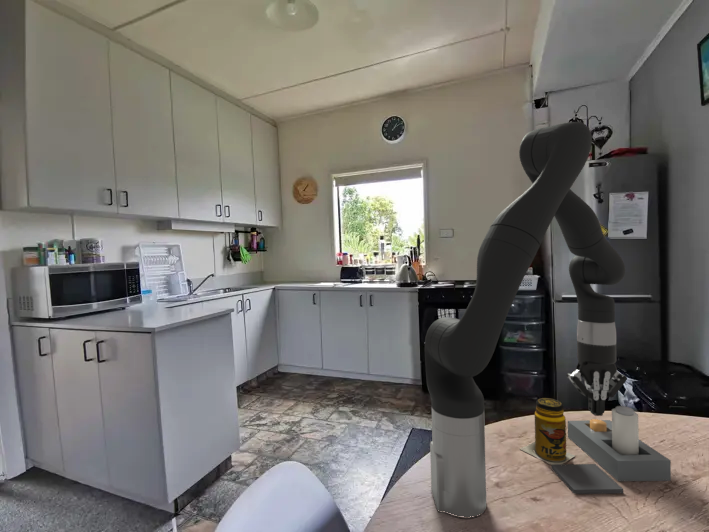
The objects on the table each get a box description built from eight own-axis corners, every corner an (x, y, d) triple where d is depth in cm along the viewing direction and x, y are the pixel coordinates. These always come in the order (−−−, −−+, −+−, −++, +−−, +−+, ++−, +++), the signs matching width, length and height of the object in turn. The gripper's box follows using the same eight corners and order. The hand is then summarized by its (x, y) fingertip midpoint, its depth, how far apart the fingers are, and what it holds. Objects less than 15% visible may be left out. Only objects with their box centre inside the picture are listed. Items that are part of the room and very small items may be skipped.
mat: (574, 493, 66) (573, 489, 66) (551, 468, 74) (551, 464, 74) (623, 493, 66) (623, 489, 66) (595, 467, 74) (595, 463, 74)
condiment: (556, 468, 74) (555, 411, 74) (519, 449, 81) (518, 398, 81) (575, 457, 78) (574, 402, 77) (538, 440, 85) (537, 390, 85)
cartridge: (622, 472, 72) (621, 413, 71) (607, 460, 76) (606, 404, 76) (644, 472, 72) (643, 413, 71) (628, 459, 76) (627, 404, 76)
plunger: (595, 447, 81) (595, 425, 81) (587, 440, 84) (586, 419, 84) (610, 447, 81) (609, 425, 81) (600, 439, 84) (600, 419, 84)
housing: (618, 481, 69) (617, 461, 69) (567, 437, 86) (567, 420, 86) (670, 480, 69) (670, 460, 69) (609, 436, 86) (609, 420, 86)
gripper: (576, 344, 78) (577, 422, 79) (637, 343, 78) (638, 421, 78) (558, 337, 86) (558, 408, 86) (613, 336, 86) (614, 407, 86)
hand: (596, 414), depth 82 cm, fingers closed
